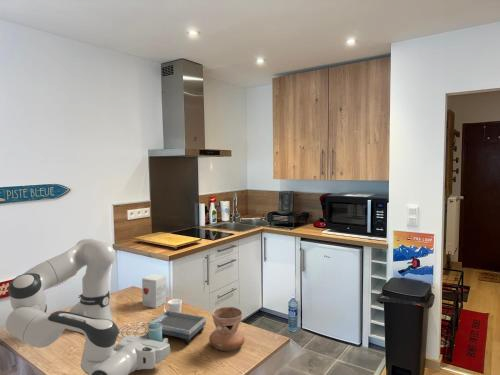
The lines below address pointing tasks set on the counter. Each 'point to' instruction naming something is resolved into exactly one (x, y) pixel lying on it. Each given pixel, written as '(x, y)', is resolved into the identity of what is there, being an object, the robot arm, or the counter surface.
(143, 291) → the supplement box
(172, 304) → the cup
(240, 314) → the ceramic jug
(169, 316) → the shallow tray
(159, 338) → the tin
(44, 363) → the counter surface
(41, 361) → the counter surface
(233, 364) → the counter surface
